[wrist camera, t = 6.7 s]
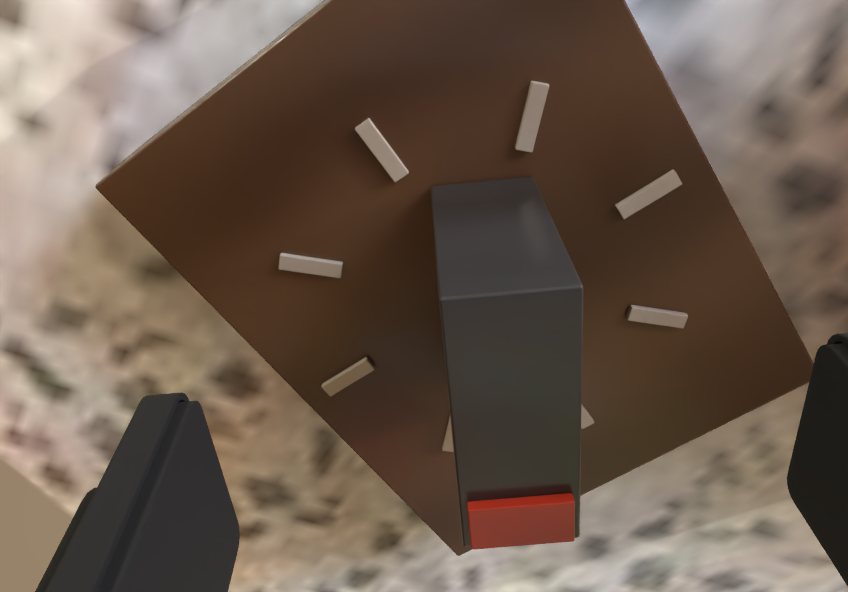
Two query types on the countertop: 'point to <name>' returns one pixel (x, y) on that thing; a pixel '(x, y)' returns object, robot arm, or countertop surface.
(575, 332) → the dial
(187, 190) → the panel
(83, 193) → the countertop surface
